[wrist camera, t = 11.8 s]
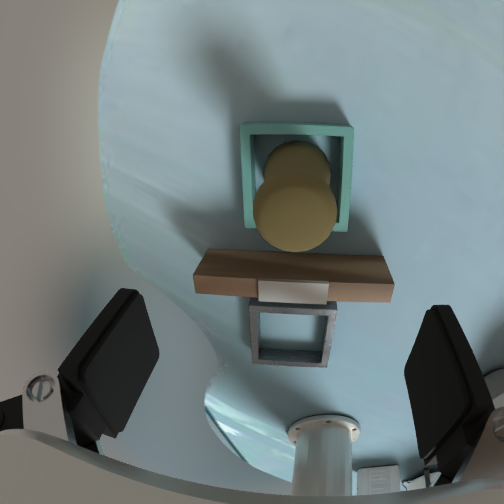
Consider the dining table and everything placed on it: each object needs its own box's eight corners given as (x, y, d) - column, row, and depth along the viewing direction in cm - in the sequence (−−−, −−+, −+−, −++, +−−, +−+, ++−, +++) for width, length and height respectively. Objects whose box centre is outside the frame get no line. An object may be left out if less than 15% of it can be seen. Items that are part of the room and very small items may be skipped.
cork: (251, 183, 28) (223, 234, 19) (286, 127, 25) (276, 148, 16) (307, 216, 29) (307, 283, 19) (344, 165, 26) (368, 209, 16)
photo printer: (355, 473, 56) (354, 517, 45) (358, 467, 54) (358, 513, 43) (395, 469, 54) (398, 512, 43) (400, 462, 52) (403, 508, 41)
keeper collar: (326, 355, 37) (326, 367, 35) (254, 351, 38) (252, 363, 37) (336, 298, 33) (337, 309, 31) (251, 294, 34) (248, 305, 32)
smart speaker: (474, 371, 35) (499, 444, 23) (518, 356, 33) (547, 422, 21) (461, 403, 40) (478, 469, 27) (502, 390, 37) (523, 451, 25)
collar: (344, 222, 28) (347, 231, 27) (248, 219, 30) (244, 228, 28) (350, 125, 24) (353, 127, 22) (243, 123, 25) (239, 125, 24)
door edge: (380, 273, 30) (390, 306, 26) (209, 266, 33) (194, 296, 28) (383, 255, 29) (395, 285, 25) (207, 248, 32) (191, 276, 27)
